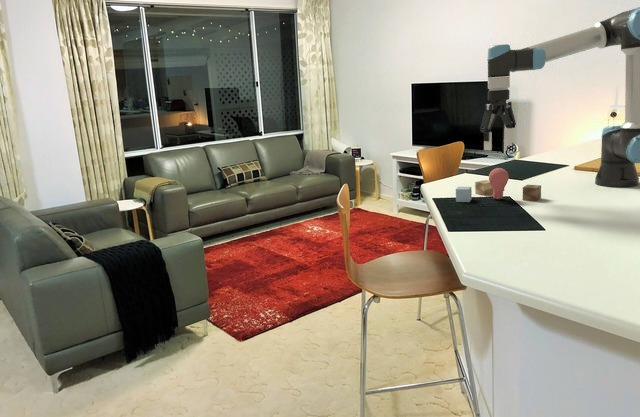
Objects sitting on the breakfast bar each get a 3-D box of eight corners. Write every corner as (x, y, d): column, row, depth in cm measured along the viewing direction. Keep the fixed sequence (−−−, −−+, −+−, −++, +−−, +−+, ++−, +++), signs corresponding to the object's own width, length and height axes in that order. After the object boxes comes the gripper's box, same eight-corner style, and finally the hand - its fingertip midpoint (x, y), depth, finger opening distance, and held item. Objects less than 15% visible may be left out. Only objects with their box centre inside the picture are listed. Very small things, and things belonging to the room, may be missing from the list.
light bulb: (509, 197, 196) (509, 166, 193) (507, 201, 189) (507, 169, 187) (490, 197, 199) (490, 166, 196) (487, 201, 192) (487, 169, 190)
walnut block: (540, 198, 190) (541, 185, 189) (536, 201, 187) (536, 188, 186) (527, 197, 194) (527, 184, 192) (522, 200, 190) (522, 187, 189)
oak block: (493, 193, 204) (493, 181, 203) (484, 195, 202) (484, 183, 201) (484, 192, 209) (484, 180, 207) (475, 193, 207) (475, 181, 205)
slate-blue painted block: (471, 199, 198) (471, 186, 197) (469, 202, 194) (469, 189, 192) (458, 199, 200) (458, 186, 199) (456, 202, 196) (455, 189, 195)
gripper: (507, 88, 195) (507, 143, 200) (469, 91, 180) (469, 151, 185) (526, 87, 190) (525, 144, 194) (488, 90, 174) (488, 152, 179)
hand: (498, 147), depth 190 cm, fingers open, 13 cm apart
